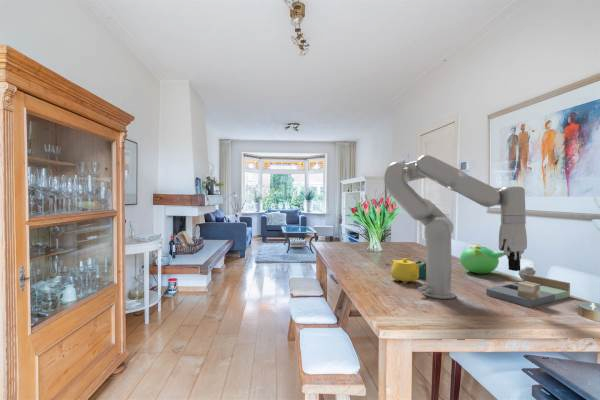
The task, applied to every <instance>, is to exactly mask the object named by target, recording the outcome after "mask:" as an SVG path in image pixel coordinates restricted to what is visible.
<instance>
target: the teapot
mask: <svg viewBox="0 0 600 400" xmlns="http://www.w3.org/2000/svg"><path fill="white" fill-rule="evenodd" d="M420 265H421V264H417V265H416V263H415V262H414V261H412V260H408V258H401V259H399V260H397V259H396V260H395V259H392V260H391V270H390V275H391V277H392V278H393V279H394V281H396V282H399V281H401V282H402V284H405V285H406V284H408V282H411V283H416V281H417V280H418V279H419V266H420Z"/></svg>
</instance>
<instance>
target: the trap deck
mask: <svg viewBox="0 0 600 400" xmlns="http://www.w3.org/2000/svg"><path fill="white" fill-rule="evenodd" d="M524 281H527V282H531V283H536V284H540V298H538V299H534V300H531V299H528V298H524V297H520V296H518V283H519V282H520V281H519V282H513V283H510V284H509V283H508V284H503V285H499V286H495V287H489V288H486V289H485V290H486V291H485V293H486V294H485V295H486V296H489V297H492V298H496V299H499V300H503V301H506V302H508V303H514V304H517V305H520V306H524V307H527V308H532V307H533V308H534V307H536V306H539V305H543V304H547V303H548V304H549V303H551V302H554V301H559V300H562V299H563V300H564V299H566V298H570V297H571V283H570V282H567V281H562V280H558V279H552V278H547V277H542V276H538V275H537V276H536V275H528V274H524V280H522V282H524Z"/></svg>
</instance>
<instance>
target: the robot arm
mask: <svg viewBox="0 0 600 400" xmlns="http://www.w3.org/2000/svg"><path fill="white" fill-rule="evenodd" d="M425 178H427V179H429V180H431V181H433V182H435V183H437V184H438V185H440V186H442V187H444V188H445V189H448V190H450V191H452V192H455V193H456V194H457V193H458V194H460V195H461V196H463V197H464V198H467V199H468V200H471V201H472V202H475V203H476V204H478V205H480V206H482V207H484V208H490V207H491V208H492V207H496V206H499V207H500V225H499V230H498V231H499V232H498V250H499V251H501V252H502V253H503V254H504V256H506V257H507V261H508V264H507V266H508V270H509V271H515V272H519V271H520V269H521V260H522V254H524V253H525V250H527V248H528V239H527V238H528V237H527V229H526V225H527V223H526V222H527V218H526V215H527V213H526V191H525V188H524V187H523V186H504V187H493V186H491V185H489V184H488V183H485V182H483V181H482V180H479V179H478V178H475V177H472V175H469V174H467V173H466V172H464V171H462V170H460V169H459V168H457V167H455V166H453V165H450V164H448V163H447V162H445V161H443V160H441V159H438V158H436V157H434V156H432V155H429V154H424V155H421V156H420V157H418V159H417V160H414V161H411V162H407V163H404V162H401V161H394V162H392V163H390V164H389V165H388V166H387V167H386V169H385V172H384V177H383V179H384V185H385V188H386V190H387V192H388V193H389V195H391V197H392V198H393V199H394V200H395V201H396V202H397V203H398V205H400V206H401V208H403V210H404V211H405V212H406V213H407V215H409V216H410V217H411V219H413V220H414V221H419V222H421V224H422V225H424V236H425V237H424V238H425V239H424V240H425V262H426V278H425V282H424V285H422V286H418V287H417V291H418V292H419V293H422V294H423V295H425V296H427V297H428V298H429V297H430V298H433V299H434V298H435V299H439V300H440V299H441V300H449V299H450V300H451V299H454V298H456V296H457V294H456V292H455V291H454V290H452V234H453V232H454V225H453V222H452V221H451V219H450V218H449V217H448V216H447V215H446V214H445V213H444V212H443V211H442V210H441V209H439V208H438V207H437V206H436V205H435V204H434V203H433V202H432V201H431V200H429V199H427V198H423V197H422V196H421V195H419V194H418V193H417V192H416V191H415V190H414V188H412V186H411V185H410V184H408V183H409V182H412V181H417V180H421V179H425ZM407 182H408V183H407Z"/></svg>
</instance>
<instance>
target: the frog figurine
mask: <svg viewBox="0 0 600 400" xmlns="http://www.w3.org/2000/svg"><path fill="white" fill-rule="evenodd" d="M524 274H528V275H533V276H535V274H536V270H535V269H534V267H531V266H525V267H523V268H520V271H518V276H519V277H520V279H521V280H522V281H524Z"/></svg>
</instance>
